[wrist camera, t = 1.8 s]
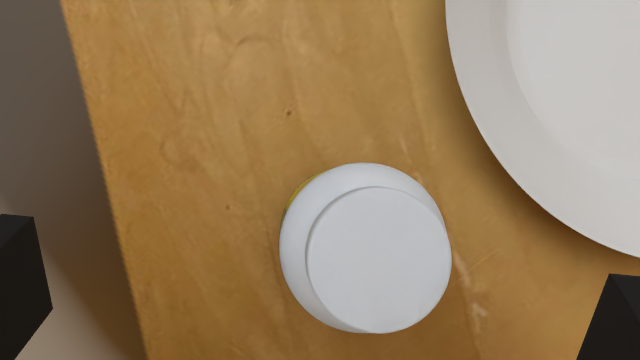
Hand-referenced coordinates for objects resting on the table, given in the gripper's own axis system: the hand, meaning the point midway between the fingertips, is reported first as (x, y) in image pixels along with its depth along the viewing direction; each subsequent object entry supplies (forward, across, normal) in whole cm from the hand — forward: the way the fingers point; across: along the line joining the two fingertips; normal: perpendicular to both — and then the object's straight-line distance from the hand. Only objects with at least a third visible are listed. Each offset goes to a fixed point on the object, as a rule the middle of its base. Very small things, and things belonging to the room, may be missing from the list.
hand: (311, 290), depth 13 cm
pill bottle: (+14, +1, -8) cm, 16 cm away
